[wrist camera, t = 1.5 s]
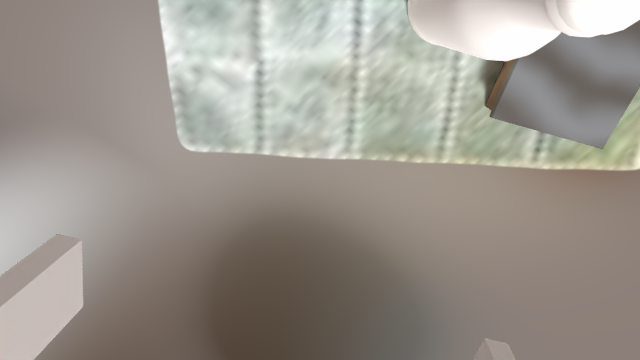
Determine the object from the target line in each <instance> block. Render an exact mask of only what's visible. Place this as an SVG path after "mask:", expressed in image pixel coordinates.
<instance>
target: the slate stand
mask: <svg viewBox="0 0 640 360" xmlns="http://www.w3.org/2000/svg"><path fill="white" fill-rule="evenodd" d="M639 87H640V20H639V21H637V22H635V23H634V24H632V25H630V26H629V27H627V28H626V29H624V30H621V31H618V32H614V33H610V34H607V35H604V34H601V35H597V36H594V37H576V36H569V35H567V34H565V33H563V32H561V33H560V34H559V35H558V36H557V37H556V38H555V39H553V40H552V41H550V42H549V43H547V44H546V45H544V46H543V47H541V48H539V49H538V50H536V51H535V52H533V53H531V54H529V55H527V56H524V57H520V58H516V59H513V60H509V61H505V63H504V65H503V67H502V69H501V72H500V74H499V76H498V78H497V81H496V83H495V85H494V87H493V90H492V92H491V94H490V96H489V99H488V101H487V103H486V105H485V106H486V107H487V108H489V109H490V110H492V111H491V114H490V117H492V118H495V119H498V120H502V121H505V122H509V123H512V124H516V125H519V126H523V127H526V128H530V129H533V130H537V131H540V132H544V133H548V134H551V135H555V136H558V137H562V138H565V139H569V140H572V141H576V142H579V143H583V144H586V145H590V146H594V147H597V148H601V149H603V147H604V145H605V144H606V142H607V140H608V139H609V137H610V135H611V134H612V132H613V131H614V129H615V127H616V126H617V124H618V122H619V121H620V119H621V117H622V116H623V114H624V112H625V111H626V109H627V107H628V106H629V104H630V102H631V101H632V99H633V97H634V96H635V94H636V92H637V91H638V89H639Z"/></svg>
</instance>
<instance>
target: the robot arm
mask: <svg viewBox="0 0 640 360" xmlns="http://www.w3.org/2000/svg"><path fill="white" fill-rule="evenodd" d="M82 279H83V277H82V240H80V239H76V238H72V237H68V236H64V235H60V234H57V235H55V236H54V237H53V238H51V239H50V240H49V241H47V242H46V243H44V244H43V245H42V246H40V247H39V248H38V249H36V250H35V251H34V252H32V253H31V254H30V255H28V256H27V257H25V258H24V259H23V260H21V261H20V262H19V263H17V264H16V265H15V266H13V267H12V268H11V269H9V270H8V271H6V272H5V273H4V274H2V275H1V276H0V360H34V359H35V358H36V357H37V356H38V354H39V353H40V352H41V351H42V350H43V349H44V348H45V347H46V346H47V345H48V344H49V343H50V341H51V340H52V339H53V338H54V337H55V336H56V335H57V334H58V333H59V332H60V331H61V330H62V329H63V328H64V326H65V325H66V324H67V323H68V322H69V321H70V320H71V319H72V317H74V316H75V315H76V313H77V312H78V311H79V310H80V309H81V308H82V307H83V282H82V281H83V280H82ZM473 360H515V358H514V356H513V354H512V351H511V349H510V347H509V345H508V344H507V343H502V342H498V341H494V340H490V339H486V338H485V339H484V341H483V343H482V344H481V346H480V348H479V350H478V351H477V353H476V355H475V357H474V359H473Z"/></svg>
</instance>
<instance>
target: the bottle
mask: <svg viewBox="0 0 640 360" xmlns="http://www.w3.org/2000/svg"><path fill="white" fill-rule="evenodd" d="M407 8H408V19H409V22H410V24H411V27H412V29H413V30H414V31H415V32H416V33H417V34H418V36H419V37H421V38H422V39H423V40H425V41H428V42H430V43H432V44H434V45H441V46H444V47H447V48H450V49H453V50H456V51H460V52H463V53H466V54H469V55H472V56H475V57H479V58H482V59H485V60H496V61H509V60H513V59H516V58H520V57H524V56H527V55H529V54H531V53H533V52H535V51H536V50H538V49H539V48H541V47H543V46H544V45H546V44H547V43H549V42H550V41H552V40H553V39H555V38H556V37H557V36H558V35H559V34H560V33H561V32H563V33H565V34H567V35H569V36H576V37H594V36H597V35H601V34H604V35H607V34H610V33H614V32H618V31H621V30H624V29H626V28H627V27H629V26H630V25H632V24H634V23H635V22H637V21H639V20H640V0H408V3H407Z"/></svg>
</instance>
